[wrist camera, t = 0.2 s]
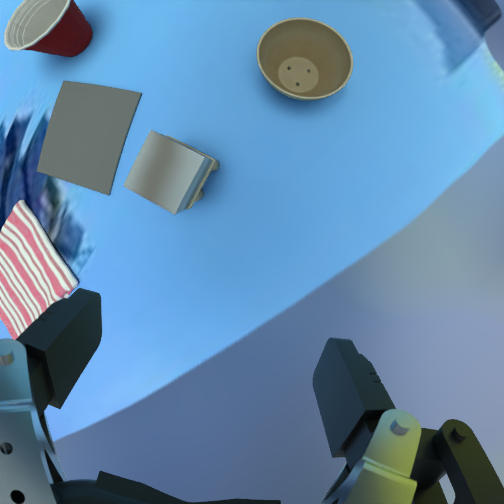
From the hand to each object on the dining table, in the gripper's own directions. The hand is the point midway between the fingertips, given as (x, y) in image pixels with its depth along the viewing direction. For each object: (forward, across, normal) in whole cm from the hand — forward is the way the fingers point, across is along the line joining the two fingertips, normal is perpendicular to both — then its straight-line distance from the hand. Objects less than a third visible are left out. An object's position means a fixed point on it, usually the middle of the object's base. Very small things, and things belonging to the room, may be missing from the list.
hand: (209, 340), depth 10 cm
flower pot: (+29, -4, -18) cm, 34 cm away
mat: (+30, +22, -6) cm, 38 cm away
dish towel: (+30, +34, +19) cm, 49 cm away
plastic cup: (+31, +29, -21) cm, 47 cm away
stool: (+28, +6, -3) cm, 29 cm away
